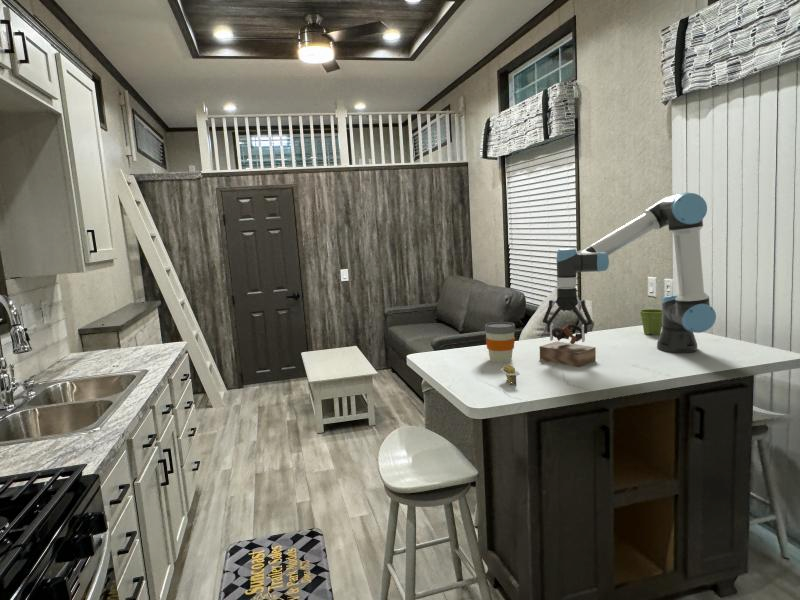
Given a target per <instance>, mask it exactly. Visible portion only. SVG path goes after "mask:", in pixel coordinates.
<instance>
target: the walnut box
mask: <svg viewBox="0 0 800 600" xmlns="http://www.w3.org/2000/svg"><path fill="white" fill-rule="evenodd" d="M596 351H597V348H596V346H590V345H583V344H578V343H577V344H576V343H574V344H571V343H570V342H564V341H558V340H556V341H554V342H549V343H547V344H544V345H543V344H542V345H540V346H539V360H540V361H545V362H549V363H554V362H555V364H559V363H560V364H561V365H565V366H570V367H574V368H581V367H584V366H586V364H587V365H589V364H591V363H594V362H597V361H596V359H597V358H596ZM560 364H559V365H560Z"/></svg>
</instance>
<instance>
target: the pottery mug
mask: <svg viewBox="0 0 800 600" xmlns="http://www.w3.org/2000/svg"><path fill="white" fill-rule="evenodd" d="M572 328H573V330H574V331H575V332H576V331H577V332H579V333H575V335H574V333H573V332H572V331H570V330H571V329H572ZM557 333H558V334H557ZM552 334H553V338H555V339H557V340H556V341H558V342H560V340H562V339H565V340H569V341H570V342H569V343H571V344H576V342H577V343H578V342H579V341H582V327H580V326H578V325H577V324H573V323H568V324H566V325H564V326H563V327H562V328H559V327H555V328H554V327H553V330H552ZM570 338H571V339H570Z"/></svg>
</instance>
